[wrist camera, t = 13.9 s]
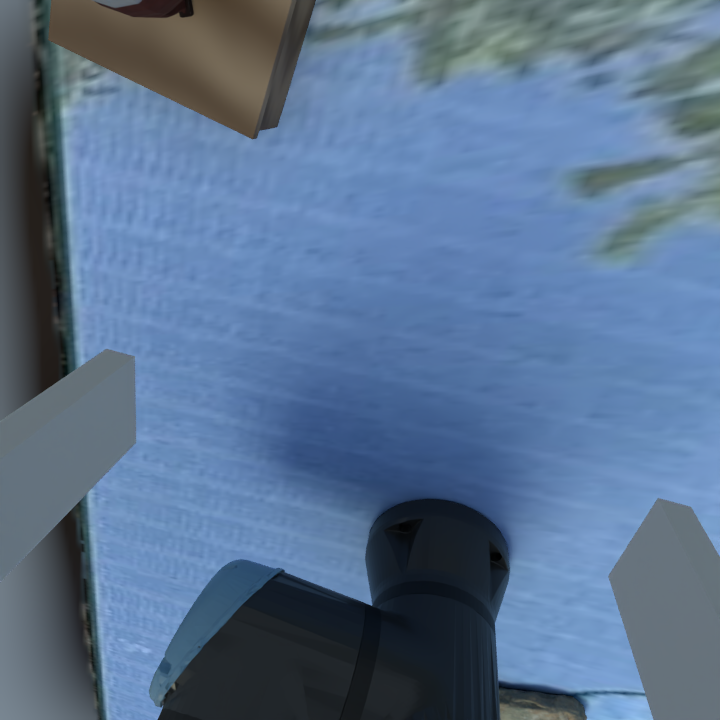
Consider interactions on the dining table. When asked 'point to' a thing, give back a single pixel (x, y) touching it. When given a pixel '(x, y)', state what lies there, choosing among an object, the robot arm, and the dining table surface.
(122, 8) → the mate gourd
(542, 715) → the elongated rock
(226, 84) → the walnut box
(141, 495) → the dining table surface
